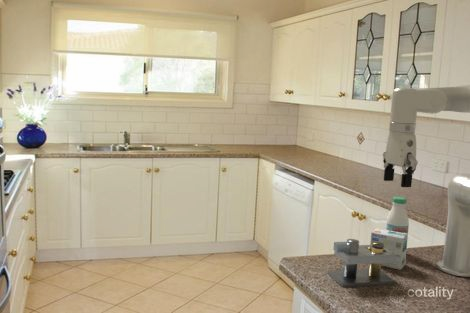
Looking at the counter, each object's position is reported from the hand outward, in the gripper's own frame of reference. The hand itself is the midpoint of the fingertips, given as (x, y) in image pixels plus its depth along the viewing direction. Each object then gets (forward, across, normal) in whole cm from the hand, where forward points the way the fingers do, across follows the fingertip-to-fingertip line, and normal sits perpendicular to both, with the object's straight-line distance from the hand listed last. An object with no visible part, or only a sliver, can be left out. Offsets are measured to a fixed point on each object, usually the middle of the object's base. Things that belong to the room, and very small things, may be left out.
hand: (396, 183), depth 150 cm
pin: (+27, -5, +8) cm, 29 cm away
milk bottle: (+28, +16, -12) cm, 35 cm away
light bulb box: (+29, +6, -3) cm, 29 cm away
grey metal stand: (+28, -5, +13) cm, 31 cm away
